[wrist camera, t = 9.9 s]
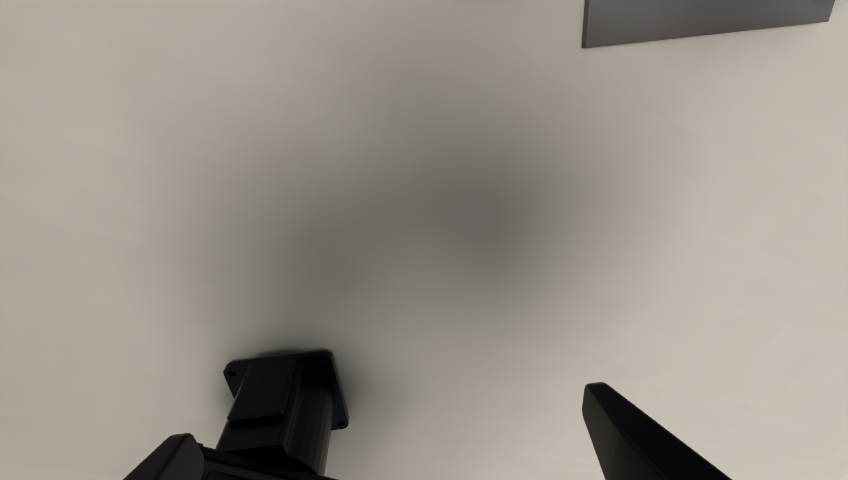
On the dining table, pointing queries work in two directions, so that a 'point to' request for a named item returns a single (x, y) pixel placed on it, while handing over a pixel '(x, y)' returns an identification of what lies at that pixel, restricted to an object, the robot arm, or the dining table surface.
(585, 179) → the dining table surface
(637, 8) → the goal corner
